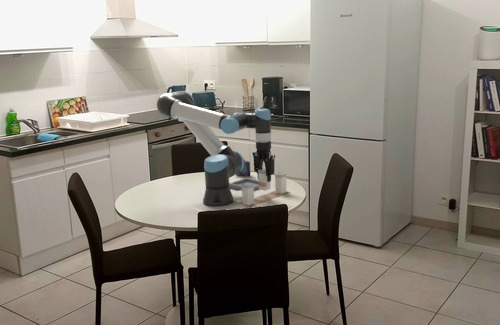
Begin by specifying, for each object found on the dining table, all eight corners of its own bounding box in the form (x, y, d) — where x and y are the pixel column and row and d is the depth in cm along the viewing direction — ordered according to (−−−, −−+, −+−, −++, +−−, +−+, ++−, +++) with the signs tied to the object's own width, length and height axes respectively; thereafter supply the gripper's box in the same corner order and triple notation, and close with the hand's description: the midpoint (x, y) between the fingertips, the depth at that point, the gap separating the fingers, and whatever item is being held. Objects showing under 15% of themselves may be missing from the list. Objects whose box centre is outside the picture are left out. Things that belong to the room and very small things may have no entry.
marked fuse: (264, 190, 250) (264, 171, 248) (258, 189, 253) (258, 169, 250) (270, 188, 253) (269, 169, 250) (264, 187, 256) (263, 168, 253)
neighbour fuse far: (281, 193, 259) (281, 175, 257) (275, 192, 262) (274, 173, 260) (286, 192, 262) (286, 173, 260) (280, 190, 265) (280, 172, 263)
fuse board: (250, 208, 241) (249, 206, 241) (238, 205, 246) (238, 203, 246) (290, 193, 261) (290, 192, 261) (279, 191, 267) (279, 189, 267)
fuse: (248, 205, 243) (247, 185, 240) (242, 203, 246) (241, 184, 243) (254, 203, 246) (253, 183, 243) (248, 201, 248) (247, 182, 246)
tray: (249, 192, 266) (249, 188, 265) (228, 187, 277) (228, 183, 276) (267, 186, 275) (267, 182, 275) (246, 182, 286) (246, 177, 286)
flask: (235, 175, 301) (234, 158, 299) (237, 174, 304) (236, 157, 302) (249, 176, 298) (248, 159, 295) (251, 175, 300) (250, 158, 298)
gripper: (281, 141, 244) (282, 188, 249) (256, 137, 256) (257, 182, 261) (271, 144, 239) (272, 191, 244) (245, 140, 250) (247, 185, 256)
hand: (264, 186), depth 253 cm, fingers closed on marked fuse, 4 cm apart
